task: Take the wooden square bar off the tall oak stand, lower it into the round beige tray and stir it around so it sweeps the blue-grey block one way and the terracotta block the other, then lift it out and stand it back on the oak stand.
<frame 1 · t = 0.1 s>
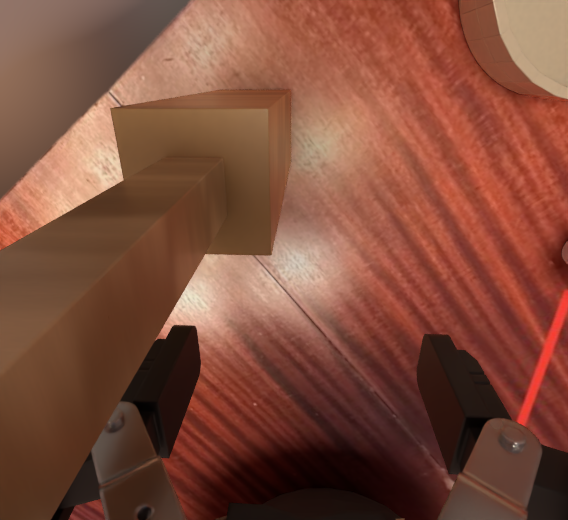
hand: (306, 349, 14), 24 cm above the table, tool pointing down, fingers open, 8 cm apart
bowl: (323, 508, 57), on the table
oak stand: (257, 127, 33), on the table
wooden square bar: (196, 187, 15), point 20 cm above the table, touching oak stand
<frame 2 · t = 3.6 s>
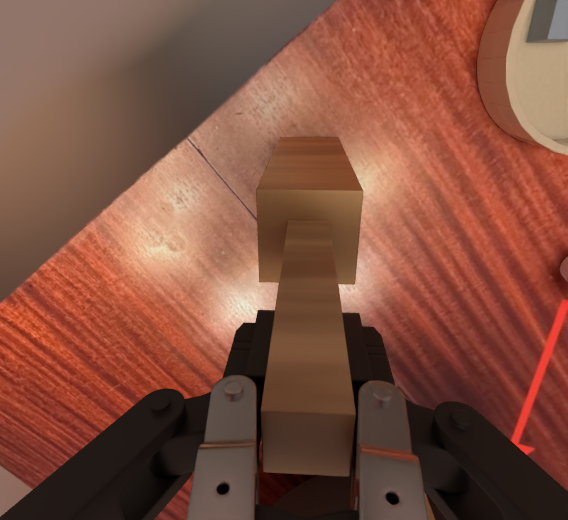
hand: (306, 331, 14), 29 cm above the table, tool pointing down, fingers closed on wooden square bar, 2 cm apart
bowl: (348, 490, 64), on the table
bluegrey block: (551, 20, 33), point 1 cm above the table, touching round beige tray
oak stand: (308, 166, 41), on the table
wooden square bar: (308, 239, 23), point 20 cm above the table, touching gripper, oak stand
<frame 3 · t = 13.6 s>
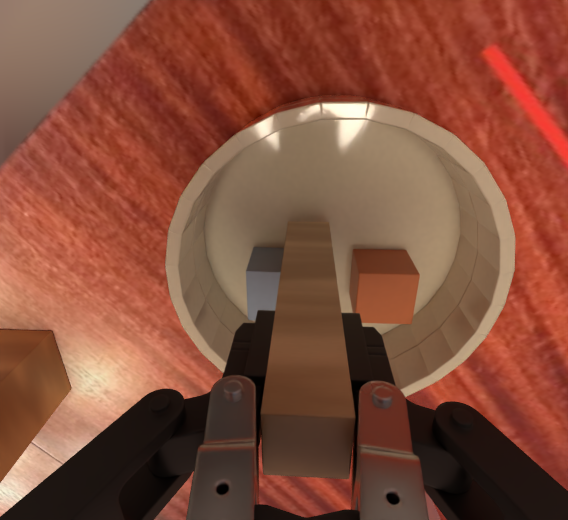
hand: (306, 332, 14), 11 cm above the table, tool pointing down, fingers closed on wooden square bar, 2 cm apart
bluegrey block: (279, 270, 25), point 1 cm above the table, touching round beige tray
terracotta block: (376, 272, 25), point 1 cm above the table, touching round beige tray
oak stand: (26, 359, 31), on the table
wooden square bar: (307, 240, 23), point 2 cm above the table, touching gripper
round beige tray: (328, 239, 25), on the table
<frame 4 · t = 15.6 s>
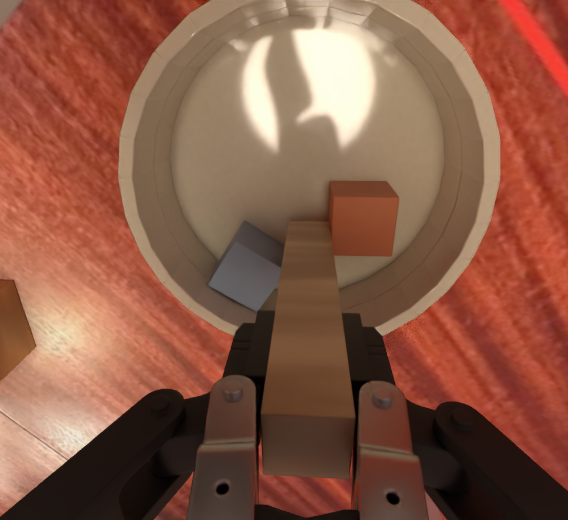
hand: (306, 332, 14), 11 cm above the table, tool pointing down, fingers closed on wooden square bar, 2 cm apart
bluegrey block: (253, 254, 25), point 1 cm above the table, touching round beige tray, wooden square bar
terracotta block: (356, 208, 23), point 1 cm above the table, touching round beige tray, wooden square bar
wooden square bar: (308, 240, 23), point 2 cm above the table, touching bluegrey block, gripper, terracotta block
round beige tray: (304, 172, 23), on the table
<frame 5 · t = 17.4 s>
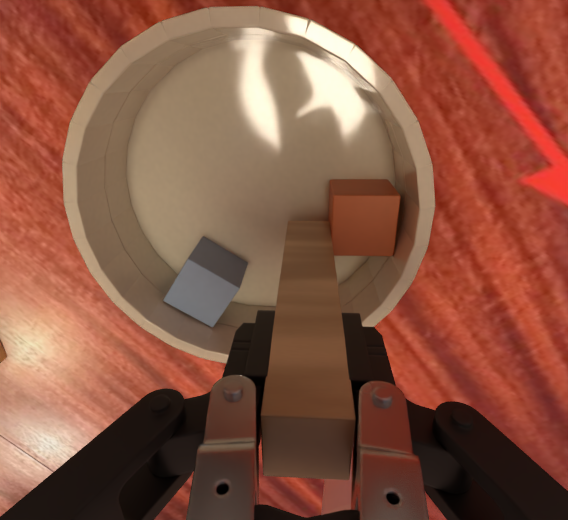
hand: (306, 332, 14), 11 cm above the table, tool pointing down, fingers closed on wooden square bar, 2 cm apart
bluegrey block: (213, 268, 25), point 1 cm above the table, touching round beige tray
smoothie: (349, 441, 33), on the table
terracotta block: (357, 207, 23), point 1 cm above the table, touching round beige tray
wooden square bar: (308, 239, 23), point 2 cm above the table, touching gripper
round beige tray: (260, 190, 23), on the table
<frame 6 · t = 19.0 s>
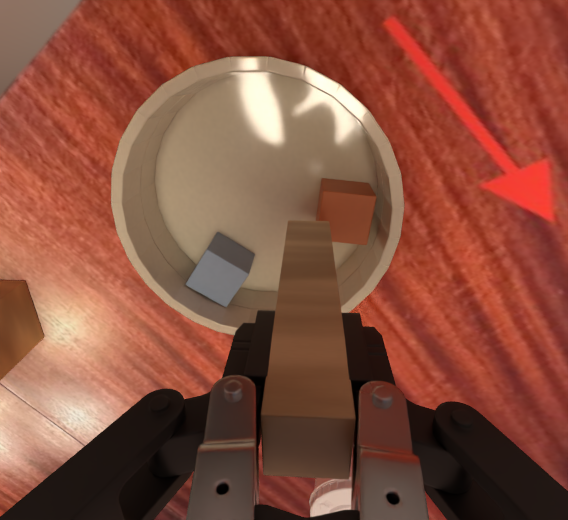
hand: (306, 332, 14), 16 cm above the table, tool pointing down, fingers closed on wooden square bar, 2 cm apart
bluegrey block: (226, 259, 30), point 1 cm above the table, touching round beige tray
smoothie: (341, 411, 38), on the table
terracotta block: (341, 203, 28), point 1 cm above the table, touching round beige tray
oak stand: (3, 308, 34), on the table
wooden square bar: (308, 239, 23), point 7 cm above the table, touching gripper
round beige tray: (265, 193, 28), on the table
when the fingers open (29 cm above the table, at t = 27.3 s): wooden square bar stays where it is, resting on oak stand.
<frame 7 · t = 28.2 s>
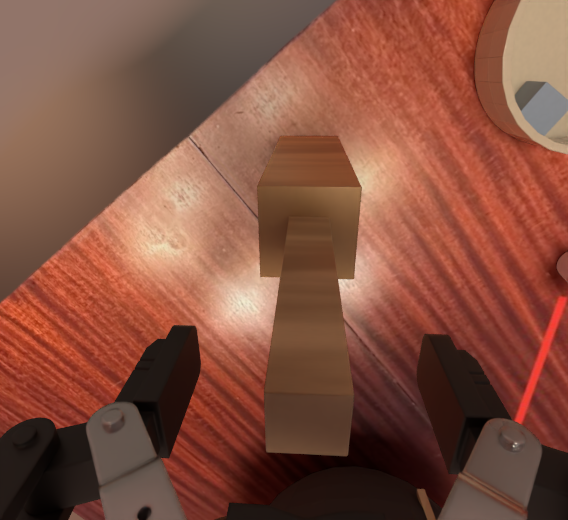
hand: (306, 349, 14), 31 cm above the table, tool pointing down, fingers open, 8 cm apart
bowl: (348, 486, 64), on the table
bluegrey block: (525, 107, 37), point 1 cm above the table, touching round beige tray
oak stand: (308, 164, 41), on the table
wooden square bar: (308, 235, 23), point 20 cm above the table, touching oak stand
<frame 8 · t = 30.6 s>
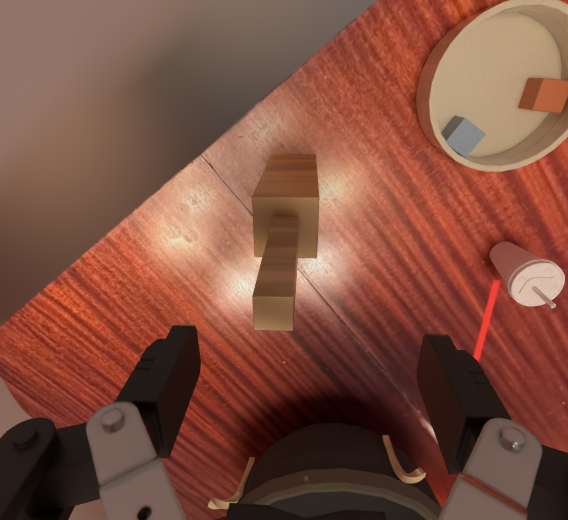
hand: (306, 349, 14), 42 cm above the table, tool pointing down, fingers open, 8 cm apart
bowl: (331, 444, 77), on the table
bluegrey block: (455, 134, 49), point 1 cm above the table, touching round beige tray
smoothie: (502, 252, 56), on the table
terracotta block: (536, 94, 46), point 1 cm above the table, touching round beige tray
oak stand: (293, 176, 53), on the table
wooden square bar: (286, 228, 35), point 20 cm above the table, touching oak stand
round beige tray: (488, 90, 47), on the table
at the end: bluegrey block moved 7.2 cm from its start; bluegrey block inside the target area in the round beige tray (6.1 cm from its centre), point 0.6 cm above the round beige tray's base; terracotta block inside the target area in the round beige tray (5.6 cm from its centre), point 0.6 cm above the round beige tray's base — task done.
